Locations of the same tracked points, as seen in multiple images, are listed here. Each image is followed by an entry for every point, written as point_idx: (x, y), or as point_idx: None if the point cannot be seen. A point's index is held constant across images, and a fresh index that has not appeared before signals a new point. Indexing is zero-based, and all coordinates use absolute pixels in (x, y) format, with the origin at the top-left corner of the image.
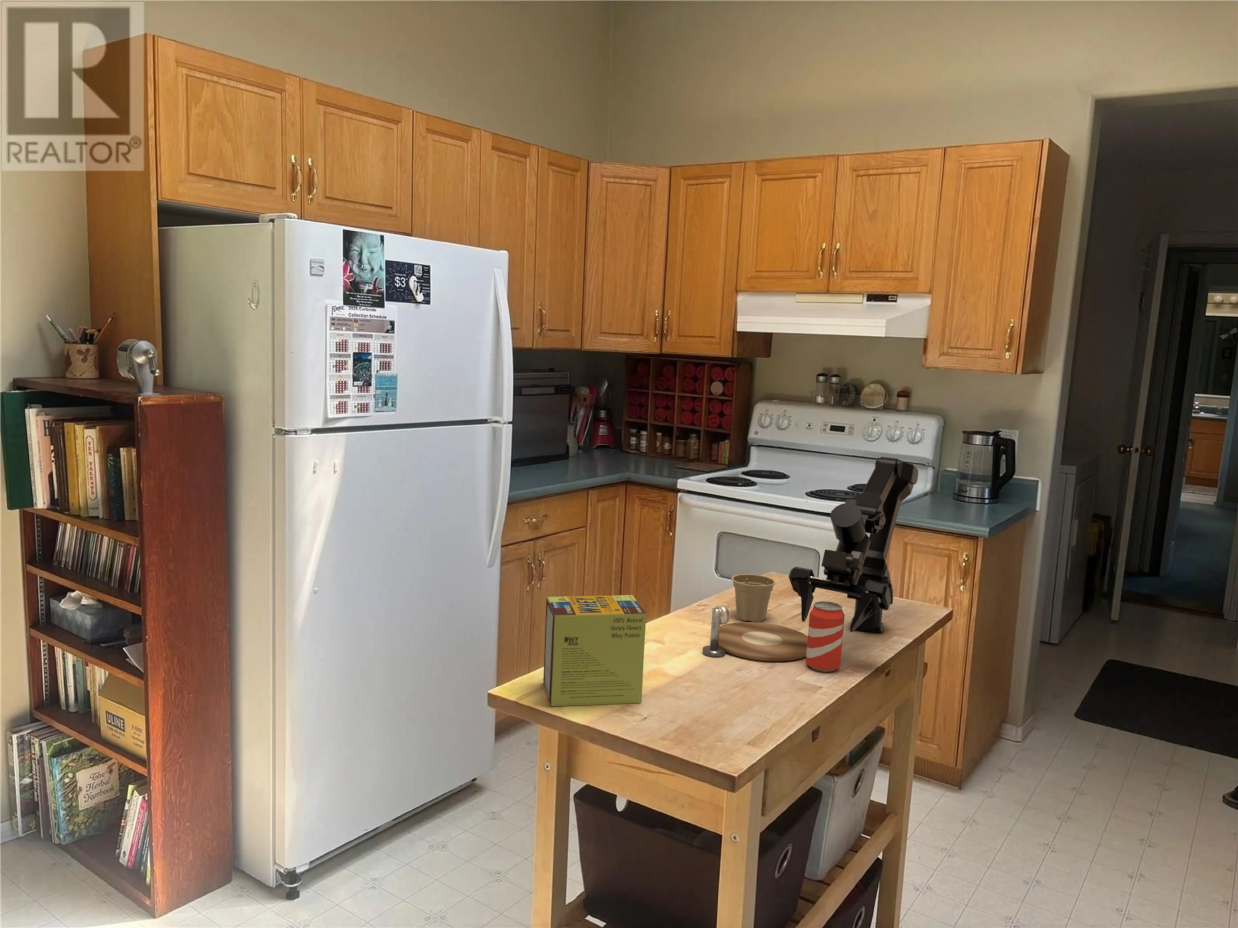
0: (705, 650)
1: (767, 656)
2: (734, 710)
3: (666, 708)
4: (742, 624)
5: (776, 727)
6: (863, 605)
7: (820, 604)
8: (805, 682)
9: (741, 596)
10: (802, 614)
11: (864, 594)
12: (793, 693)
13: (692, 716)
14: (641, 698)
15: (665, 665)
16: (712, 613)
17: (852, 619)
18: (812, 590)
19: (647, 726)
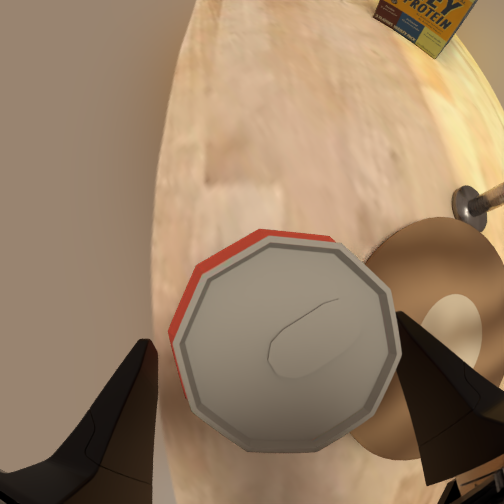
0: (474, 191)
1: (393, 237)
2: (283, 29)
3: (345, 13)
4: (493, 382)
5: (209, 25)
6: (70, 453)
7: (363, 375)
8: (250, 181)
9: None
10: (411, 321)
11: (36, 496)
12: (243, 113)
13: (310, 8)
14: (374, 13)
15: (457, 114)
16: None
17: (134, 378)
18: (448, 502)
19: None
